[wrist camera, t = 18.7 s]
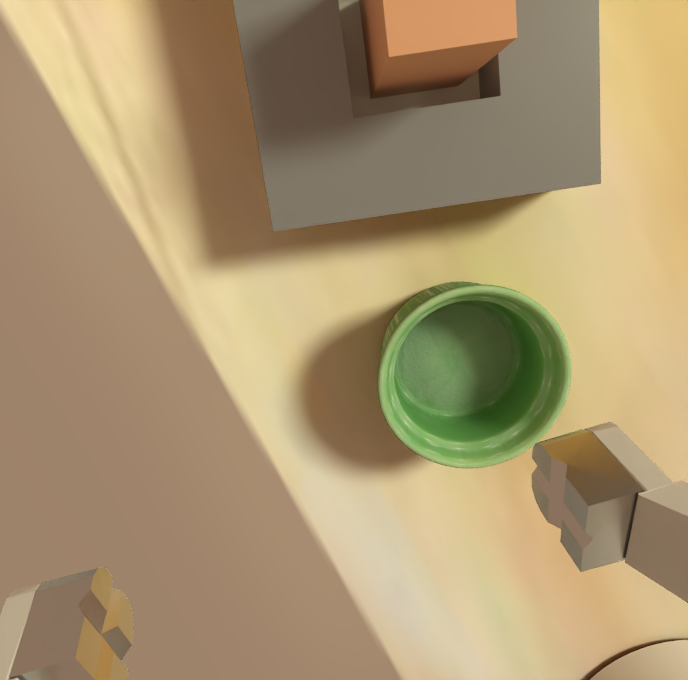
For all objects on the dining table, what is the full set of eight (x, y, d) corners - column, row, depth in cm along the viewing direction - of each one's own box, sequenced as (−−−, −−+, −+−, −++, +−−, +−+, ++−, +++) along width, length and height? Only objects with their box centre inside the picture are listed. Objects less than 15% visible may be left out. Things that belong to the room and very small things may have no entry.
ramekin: (558, 392, 30) (596, 426, 25) (408, 453, 30) (420, 496, 26) (505, 242, 27) (537, 252, 23) (344, 313, 28) (346, 335, 24)
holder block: (561, 184, 26) (600, 183, 23) (281, 225, 27) (273, 231, 23) (551, -157, 23) (596, -227, 19) (224, -106, 23) (203, -165, 19)
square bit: (458, 85, 24) (517, 37, 17) (370, 99, 24) (388, 57, 17) (450, -14, 23) (510, -116, 15) (358, -1, 23) (372, -95, 16)
